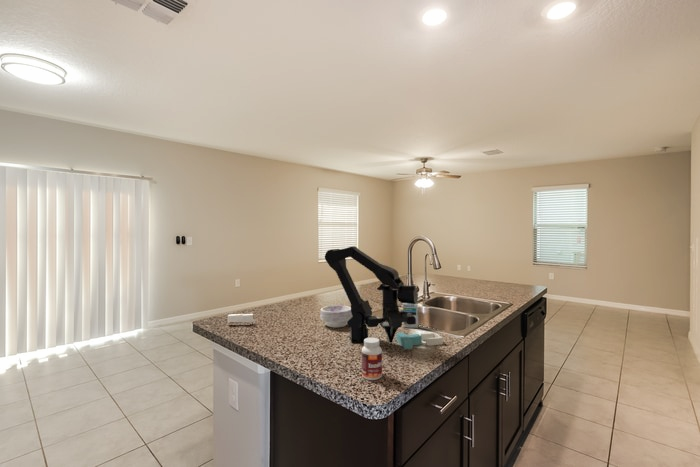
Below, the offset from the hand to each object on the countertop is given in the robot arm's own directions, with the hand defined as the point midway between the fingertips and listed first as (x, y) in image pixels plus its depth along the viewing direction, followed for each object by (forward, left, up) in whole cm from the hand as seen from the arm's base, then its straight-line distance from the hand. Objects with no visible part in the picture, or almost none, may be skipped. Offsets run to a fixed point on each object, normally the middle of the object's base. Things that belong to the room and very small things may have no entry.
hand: (390, 342), depth 122 cm
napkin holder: (-62, +41, -2) cm, 74 cm away
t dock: (+16, 0, -1) cm, 16 cm away
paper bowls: (-17, +31, -1) cm, 36 cm away
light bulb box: (+17, +24, -1) cm, 29 cm away
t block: (+8, 0, -1) cm, 8 cm away
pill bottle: (-13, -24, -1) cm, 27 cm away
